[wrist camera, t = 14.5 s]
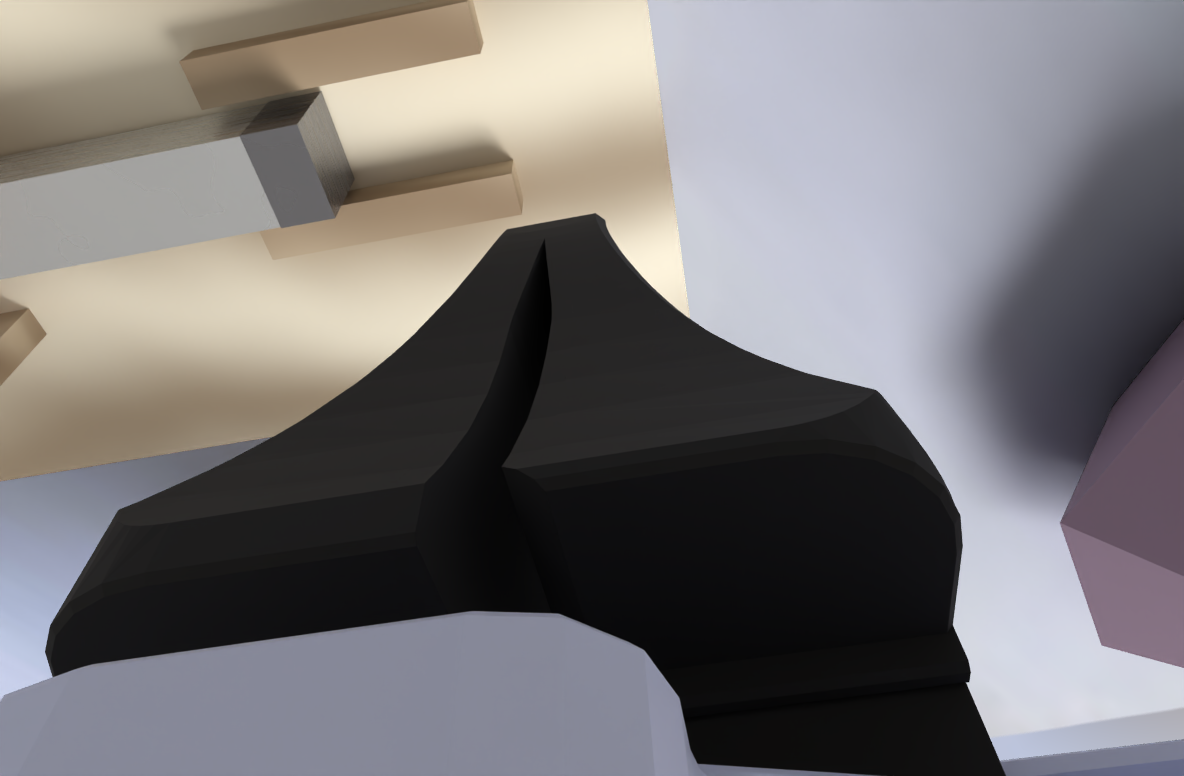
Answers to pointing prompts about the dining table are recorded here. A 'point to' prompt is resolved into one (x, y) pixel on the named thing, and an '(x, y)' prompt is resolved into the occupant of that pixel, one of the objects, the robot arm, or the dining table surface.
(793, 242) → the dining table surface
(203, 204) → the lock pin
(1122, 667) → the dining table surface
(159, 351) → the dock
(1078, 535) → the flask
